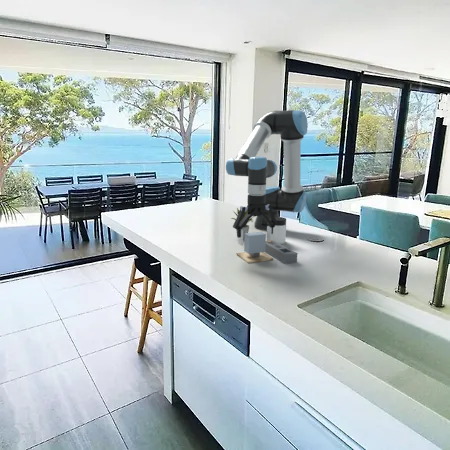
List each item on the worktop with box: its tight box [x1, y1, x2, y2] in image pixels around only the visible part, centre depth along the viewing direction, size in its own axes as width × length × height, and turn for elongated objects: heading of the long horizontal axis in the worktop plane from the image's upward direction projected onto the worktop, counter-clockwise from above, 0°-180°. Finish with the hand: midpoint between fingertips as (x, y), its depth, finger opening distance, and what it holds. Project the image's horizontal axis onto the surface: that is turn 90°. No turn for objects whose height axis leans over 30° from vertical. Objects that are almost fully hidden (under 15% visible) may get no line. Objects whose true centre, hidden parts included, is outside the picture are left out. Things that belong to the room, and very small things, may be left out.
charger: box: [243, 231, 267, 258], centre depth 163 cm, size 4×8×10 cm, turn 112°
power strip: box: [264, 240, 298, 265], centre depth 169 cm, size 28×6×5 cm, turn 22°
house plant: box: [230, 207, 255, 240], centre depth 191 cm, size 14×14×16 cm
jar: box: [270, 216, 287, 245], centre depth 185 cm, size 9×8×12 cm
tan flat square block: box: [235, 251, 274, 264], centre depth 164 cm, size 12×12×1 cm
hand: (254, 242), depth 162 cm, fingers open, 13 cm apart
